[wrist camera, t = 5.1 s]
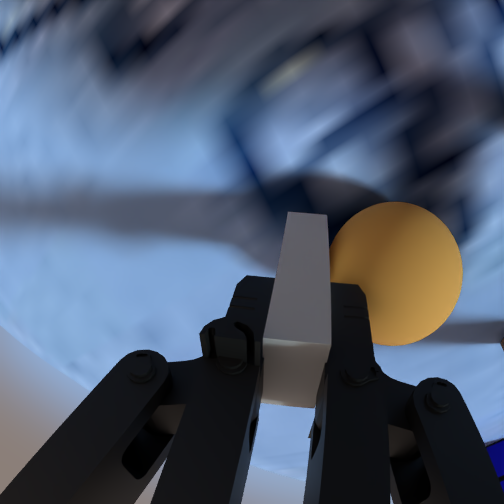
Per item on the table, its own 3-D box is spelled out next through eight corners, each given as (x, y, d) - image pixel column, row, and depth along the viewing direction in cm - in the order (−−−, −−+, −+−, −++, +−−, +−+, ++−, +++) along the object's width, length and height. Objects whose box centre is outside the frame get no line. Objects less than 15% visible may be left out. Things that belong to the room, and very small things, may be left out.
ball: (322, 233, 9) (501, 268, 7) (341, 171, 13) (462, 194, 12) (304, 360, 12) (438, 383, 10) (328, 276, 16) (430, 294, 15)
